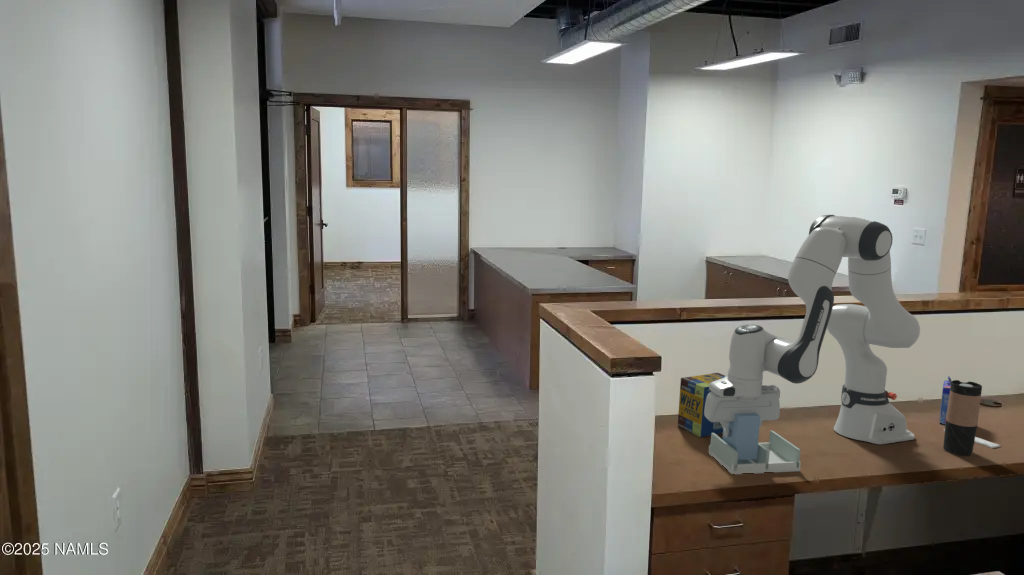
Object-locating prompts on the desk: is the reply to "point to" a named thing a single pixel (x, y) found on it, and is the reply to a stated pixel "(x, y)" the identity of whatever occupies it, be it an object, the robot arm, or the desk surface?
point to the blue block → (744, 435)
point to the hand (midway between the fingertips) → (740, 435)
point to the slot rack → (758, 456)
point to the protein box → (697, 405)
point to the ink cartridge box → (945, 400)
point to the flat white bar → (985, 442)
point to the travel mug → (962, 417)
